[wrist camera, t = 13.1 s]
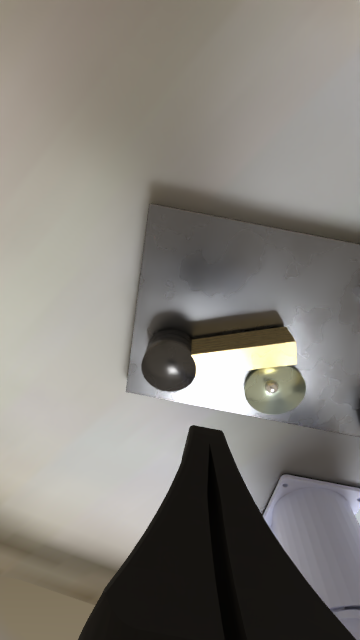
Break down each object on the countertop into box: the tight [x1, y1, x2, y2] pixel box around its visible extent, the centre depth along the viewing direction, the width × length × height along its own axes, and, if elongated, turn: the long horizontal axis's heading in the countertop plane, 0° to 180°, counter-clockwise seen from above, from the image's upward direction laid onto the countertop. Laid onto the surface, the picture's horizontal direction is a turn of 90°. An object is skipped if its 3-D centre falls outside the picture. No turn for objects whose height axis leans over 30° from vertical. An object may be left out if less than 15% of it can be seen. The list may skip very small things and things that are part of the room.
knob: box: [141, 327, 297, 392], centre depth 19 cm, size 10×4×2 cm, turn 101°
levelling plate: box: [126, 204, 360, 437], centre depth 20 cm, size 14×23×2 cm, turn 80°
